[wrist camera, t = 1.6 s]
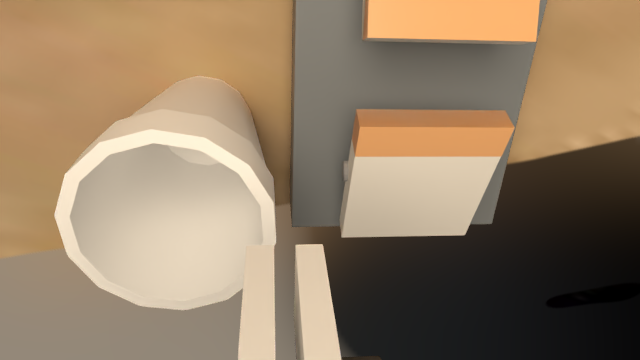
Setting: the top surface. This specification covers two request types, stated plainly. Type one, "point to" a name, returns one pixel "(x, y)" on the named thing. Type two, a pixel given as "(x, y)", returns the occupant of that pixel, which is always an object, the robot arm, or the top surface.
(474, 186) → the block
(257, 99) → the top surface
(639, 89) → the top surface
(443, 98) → the switch unit
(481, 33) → the panel
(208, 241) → the foam cup
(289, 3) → the top surface
